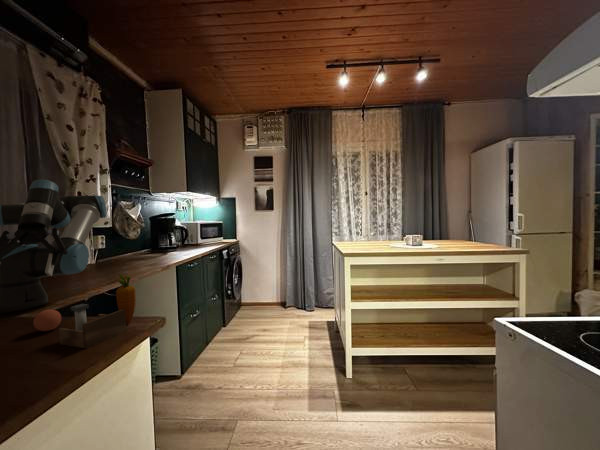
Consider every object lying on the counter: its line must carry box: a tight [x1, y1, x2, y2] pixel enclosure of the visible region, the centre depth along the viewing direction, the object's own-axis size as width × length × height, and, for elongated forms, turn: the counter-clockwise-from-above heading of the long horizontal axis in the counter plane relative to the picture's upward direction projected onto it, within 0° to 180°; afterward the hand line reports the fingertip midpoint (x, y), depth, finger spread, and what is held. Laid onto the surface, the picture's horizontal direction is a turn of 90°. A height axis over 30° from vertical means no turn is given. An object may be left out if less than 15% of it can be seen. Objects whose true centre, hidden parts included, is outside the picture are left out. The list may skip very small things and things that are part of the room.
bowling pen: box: [58, 309, 127, 349], centre depth 74 cm, size 10×11×6 cm
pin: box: [70, 303, 90, 331], centre depth 76 cm, size 3×3×8 cm
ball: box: [32, 309, 62, 332], centre depth 80 cm, size 6×6×6 cm
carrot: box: [115, 274, 137, 325], centre depth 82 cm, size 5×5×15 cm
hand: (19, 277), depth 83 cm, fingers open, 13 cm apart
